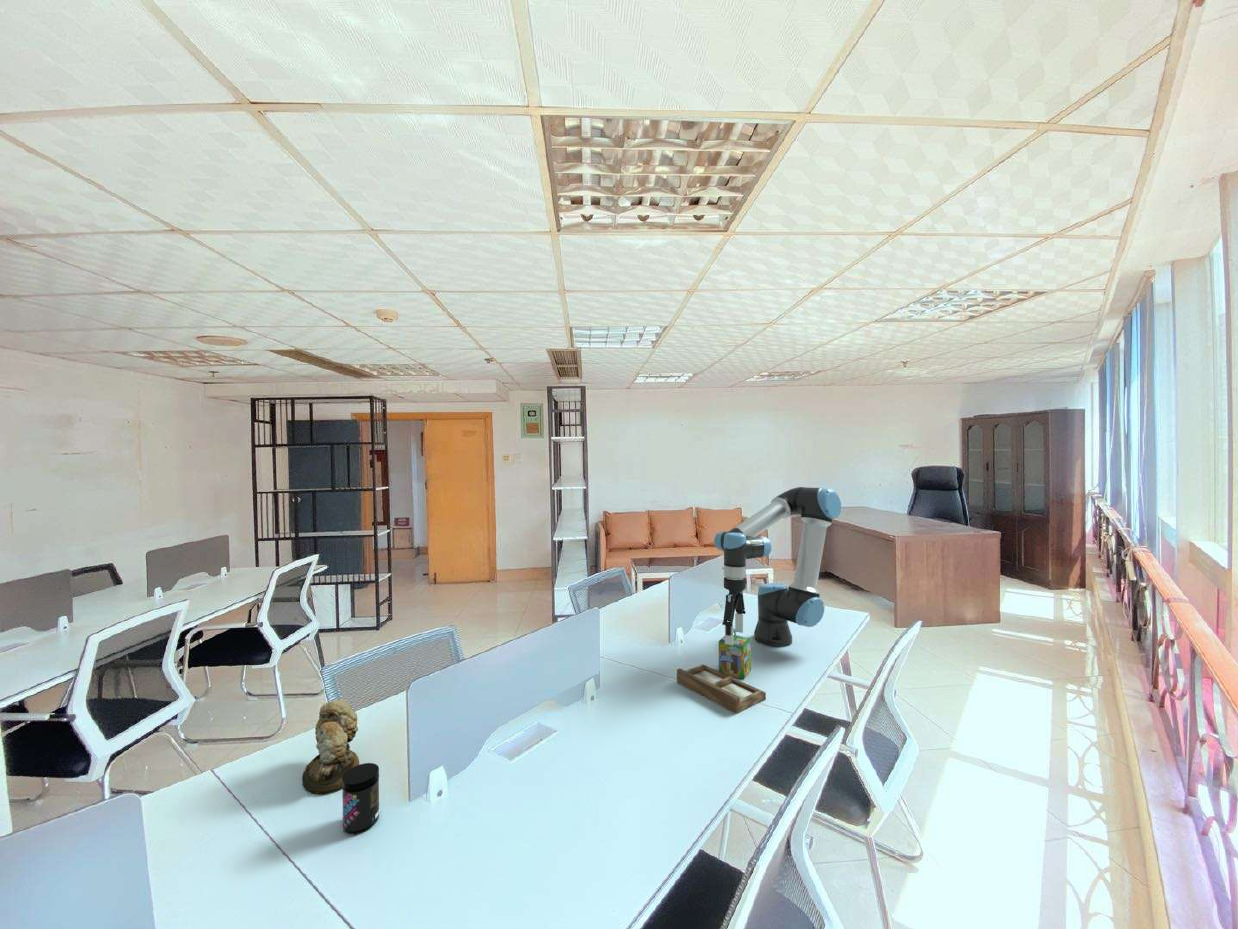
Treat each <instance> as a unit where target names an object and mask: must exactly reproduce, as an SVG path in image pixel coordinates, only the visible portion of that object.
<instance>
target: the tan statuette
mask: <svg viewBox="0 0 1238 929" xmlns="http://www.w3.org/2000/svg"><path fill="white" fill-rule="evenodd" d="M318 718H319V719H318V720H317V722H316V723H315V728H314V729H315V733H314V734H315V739H316V745H315V747H316V749H317V750H318V755H316V756H315V757H314V758H313V759H312V760H311V761H310V762H309V763H308V764H307V765H306V766H305V768H304V770H303V773H302V776H301V783H302V786H303V788H304V790H306V792H308V793H310V794H312V795H320V796H322V795H323V796H324V795H325V796H326V795H329V794H332V793H335V792H338V791H342V777H343V775H344V774H345V772H347V771H348V770H349V769H351V768H353V767H355V766H357V765H360V759H359V756H358V755H357V753H356V752H354V751H353V750H351V749H350V748H351V746H350V743H351V742H352V741H353V740H354V738H355V737H356V734H357V733H358V731H359V726H358V713H356V711H355V710H353V709H352V705H350V703H349V702H348V701H346V700H343V699H334V700H332V701H328V702H326V703H324V704H323V705H322V706H321V707H320V710H319V716H318Z"/></svg>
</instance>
